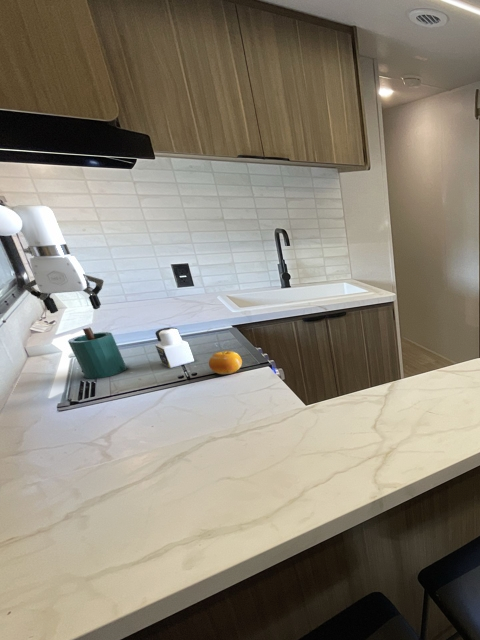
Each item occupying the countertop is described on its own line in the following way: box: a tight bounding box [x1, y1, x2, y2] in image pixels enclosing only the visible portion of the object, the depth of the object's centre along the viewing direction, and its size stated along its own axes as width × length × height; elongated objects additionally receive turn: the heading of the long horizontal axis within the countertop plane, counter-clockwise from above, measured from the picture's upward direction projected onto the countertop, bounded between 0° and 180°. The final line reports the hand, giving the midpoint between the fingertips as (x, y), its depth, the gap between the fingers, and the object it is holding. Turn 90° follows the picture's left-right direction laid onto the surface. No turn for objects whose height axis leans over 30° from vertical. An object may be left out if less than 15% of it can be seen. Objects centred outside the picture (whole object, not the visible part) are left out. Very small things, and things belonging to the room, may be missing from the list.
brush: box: [82, 326, 95, 340], centre depth 127 cm, size 4×4×14 cm
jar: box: [67, 331, 127, 379], centre depth 128 cm, size 10×10×12 cm
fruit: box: [208, 350, 243, 375], centre depth 127 cm, size 8×8×8 cm
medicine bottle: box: [154, 326, 195, 369], centre depth 135 cm, size 7×7×12 cm
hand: (76, 310), depth 122 cm, fingers open, 9 cm apart
